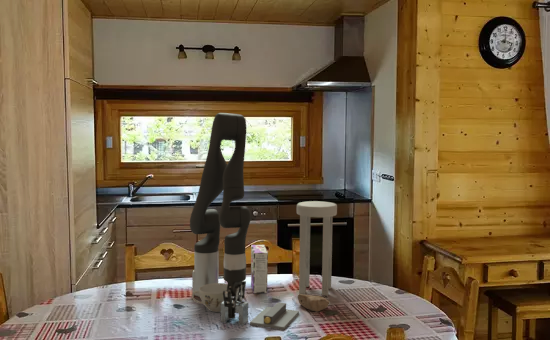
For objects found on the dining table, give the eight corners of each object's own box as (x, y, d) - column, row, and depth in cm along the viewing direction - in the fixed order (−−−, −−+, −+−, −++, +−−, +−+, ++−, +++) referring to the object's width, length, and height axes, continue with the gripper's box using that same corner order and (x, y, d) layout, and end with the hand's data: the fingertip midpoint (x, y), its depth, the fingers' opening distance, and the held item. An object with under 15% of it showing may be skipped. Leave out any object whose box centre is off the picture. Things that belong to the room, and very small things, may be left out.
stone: (311, 314, 189) (312, 300, 189) (295, 304, 199) (295, 291, 199) (332, 310, 194) (333, 296, 193) (315, 300, 204) (315, 288, 203)
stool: (292, 294, 210) (294, 205, 207) (299, 283, 225) (301, 200, 222) (332, 297, 207) (334, 207, 203) (336, 285, 222) (338, 201, 219)
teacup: (234, 303, 199) (234, 282, 199) (234, 315, 187) (234, 292, 186) (193, 303, 198) (193, 282, 198) (190, 315, 186) (190, 293, 185)
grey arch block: (220, 322, 180) (220, 303, 180) (226, 317, 185) (226, 299, 184) (242, 325, 178) (242, 306, 177) (248, 320, 182) (248, 302, 181)
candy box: (250, 283, 224) (250, 244, 223) (264, 282, 225) (265, 244, 223) (252, 293, 211) (253, 252, 209) (267, 293, 211) (268, 252, 210)
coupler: (249, 324, 178) (249, 314, 178) (267, 309, 193) (267, 299, 193) (283, 330, 174) (284, 319, 174) (298, 313, 189) (299, 304, 189)
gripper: (233, 259, 187) (233, 307, 189) (215, 270, 174) (215, 321, 175) (253, 261, 185) (253, 310, 186) (236, 272, 171) (236, 324, 173)
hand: (234, 315), depth 181 cm, fingers closed on grey arch block, 4 cm apart
